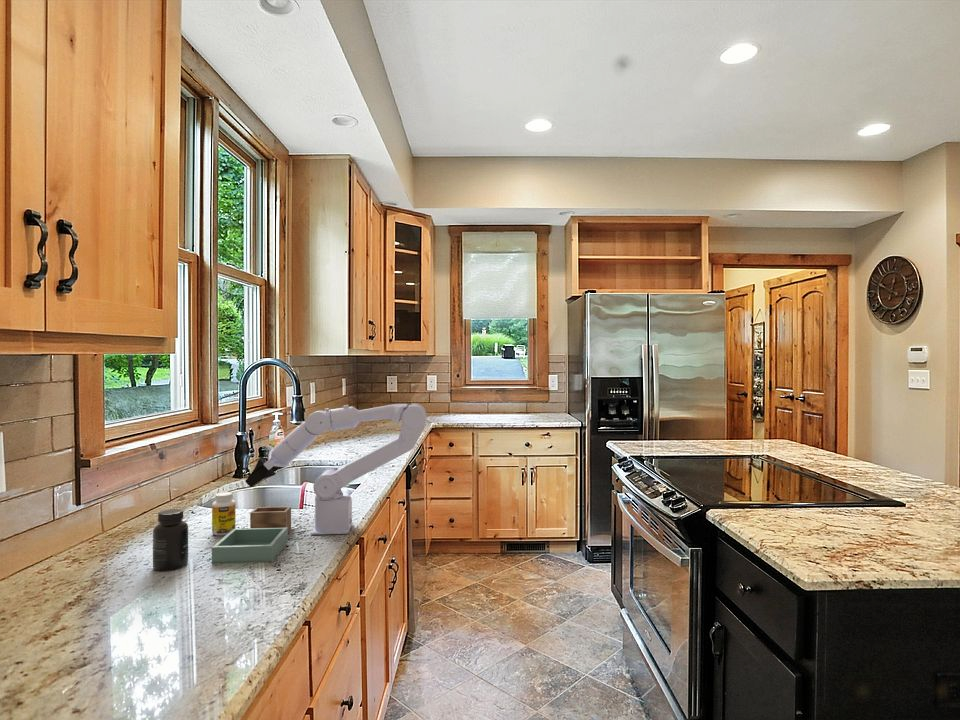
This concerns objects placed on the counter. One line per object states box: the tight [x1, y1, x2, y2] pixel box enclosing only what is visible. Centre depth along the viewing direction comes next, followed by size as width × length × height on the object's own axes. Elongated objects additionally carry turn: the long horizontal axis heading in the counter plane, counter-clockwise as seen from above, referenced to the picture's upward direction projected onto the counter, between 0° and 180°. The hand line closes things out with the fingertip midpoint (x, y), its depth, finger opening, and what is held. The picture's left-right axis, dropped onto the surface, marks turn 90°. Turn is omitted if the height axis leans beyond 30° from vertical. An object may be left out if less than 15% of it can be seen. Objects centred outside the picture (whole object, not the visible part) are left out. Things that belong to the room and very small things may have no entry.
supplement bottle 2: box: [211, 491, 236, 537], centre depth 141 cm, size 6×6×10 cm
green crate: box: [211, 527, 289, 565], centre depth 127 cm, size 13×13×4 cm
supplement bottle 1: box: [152, 508, 189, 572], centre depth 119 cm, size 7×7×12 cm
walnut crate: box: [249, 506, 292, 531], centre depth 142 cm, size 9×5×6 cm, turn 95°
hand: (253, 480), depth 142 cm, fingers open, 7 cm apart
